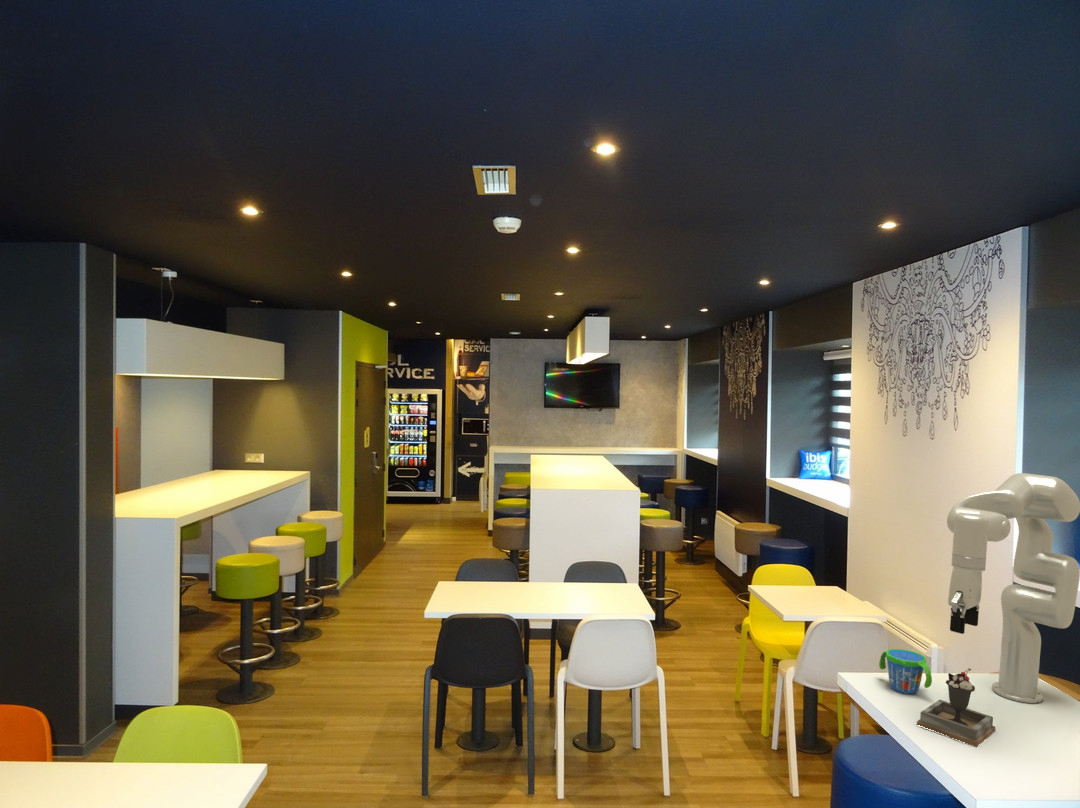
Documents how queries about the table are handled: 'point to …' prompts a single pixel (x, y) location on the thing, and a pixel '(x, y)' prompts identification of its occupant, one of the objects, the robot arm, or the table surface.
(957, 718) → the sundae
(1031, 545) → the robot arm
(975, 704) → the table surface
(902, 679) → the snack cup
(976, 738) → the stand
